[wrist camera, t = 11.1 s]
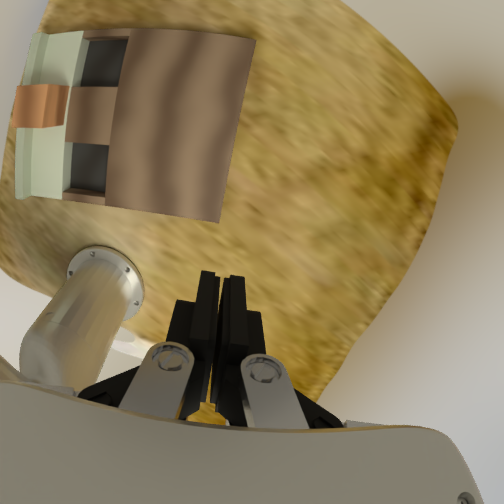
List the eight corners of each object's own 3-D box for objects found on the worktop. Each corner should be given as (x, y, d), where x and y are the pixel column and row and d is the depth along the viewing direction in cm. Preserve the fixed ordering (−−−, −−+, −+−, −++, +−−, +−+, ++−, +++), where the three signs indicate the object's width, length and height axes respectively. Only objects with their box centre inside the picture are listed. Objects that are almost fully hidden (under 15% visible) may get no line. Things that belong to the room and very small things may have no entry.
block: (69, 86, 28) (48, 84, 23) (63, 125, 30) (41, 128, 25) (39, 86, 27) (17, 85, 22) (34, 124, 29) (11, 127, 24)
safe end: (92, 34, 27) (76, 27, 23) (70, 194, 36) (54, 204, 32) (50, 38, 26) (33, 33, 22) (32, 189, 35) (15, 198, 31)
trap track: (255, 44, 30) (256, 39, 28) (219, 216, 39) (219, 223, 36) (92, 34, 27) (84, 30, 25) (70, 194, 36) (62, 199, 34)
